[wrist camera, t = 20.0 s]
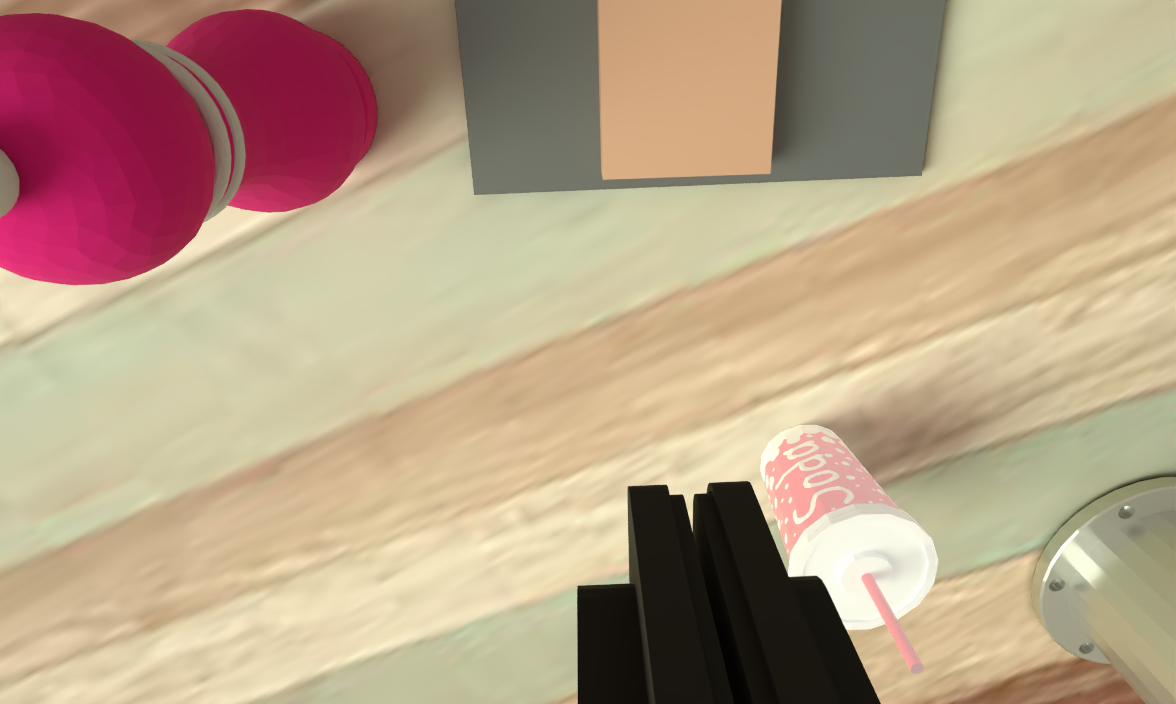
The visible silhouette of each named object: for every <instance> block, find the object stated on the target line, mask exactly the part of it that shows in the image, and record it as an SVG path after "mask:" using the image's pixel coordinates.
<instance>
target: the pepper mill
mask: <svg viewBox="0 0 1176 704" xmlns="http://www.w3.org/2000/svg"><path fill="white" fill-rule="evenodd" d="M376 124H377V106H376V99H375V95H374V91H373V88H372V85H371V83H370V80H369V78H368V76H367V74H366V73H365V71H364V69H363V67H362V66H361V65H360V63H359V62H358V61H357V59H356V58H355V57H354V56H353V55H352V54H351V53H350V52H349V51H348V50H347V49H346V48H345V47H344V46H342V45H341V44H340V43H338V42H337V41H335V40H334V39H332V38H330V37H329V36H327V35H325V34H322V33H320V32H317V31H314V30H312V29H311V28H309V27H307V26H306V25H304V24H302V23H300V22H299V21H297V20H295V19H292V18H290V17H287V16H284V15H282V14H279V13H275V12H270V11H265V10H252V9H245V10H236V11H228V12H221V13H218V14H214V15H211V16H207V17H204V18H203V19H201V20H199V21H197V22H195V23H193V24H191V25H190V26H189V27H187V28H186V29H185V30H183V31H182V32H181V33H180V34H178V35H177V36H176V37H174V38H173V39H172V40H171V41H170V42H169V43H168V45H167V46H166V47H165V46H162V45H159V44H156V43H152V42H147V41H140V40H129V39H127V38H126V37H124V36H122V35H120V34H118V33H116V32H113V31H111V30H109V29H107V28H104V27H102V26H100V25H98V24H95V23H91V22H87V21H82V20H78V19H73V18H69V17H64V16H60V15H54V14H41V13H31V14H12V15H3V16H0V267H1V268H3V269H6V270H8V271H10V272H13V273H15V274H17V275H20V276H22V277H26V278H29V279H33V280H38V281H44V282H51V283H58V284H67V285H91V284H105V283H110V282H115V281H120V280H125V279H129V278H132V277H135V276H137V275H140V274H142V273H145V272H148V271H150V270H152V269H154V268H156V267H158V266H160V265H162V264H164V263H165V262H167V261H168V260H169V259H171V258H172V257H173V256H175V255H176V254H178V253H179V252H180V251H181V250H182V249H183V248H184V247H185V246H186V245H187V244H188V243H189V242H190V241H191V240H192V239H193V238H194V237H195V236H196V234H197V233H198V231H199V229H200V227H201V225H202V223H203V222H206V221H207V220H209V219H211V218H212V217H214V216H215V215H217V214H218V213H219V212H220V211H222V210H223V209H224V208H225V207H226V206H227V205H228V206H232V207H236V208H240V209H245V210H251V211H260V212H285V211H290V210H294V209H297V208H301V207H304V206H308V205H311V204H314V203H316V202H318V201H320V200H322V199H324V198H326V197H328V196H329V195H330V194H331V193H333V192H334V191H335V190H337V189H338V188H339V187H340V186H341V185H342V184H343V183H344V181H345V180H346V179H347V178H348V176H349V175H350V174H351V172H352V171H353V169H354V167H355V165H356V164H357V163H358V162H359V161H360V160H361V159H362V158H363V157H364V155H365V154H366V152H367V151H368V149H369V147H370V145H371V143H372V140H373V138H374V134H375V130H376Z"/></svg>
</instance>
